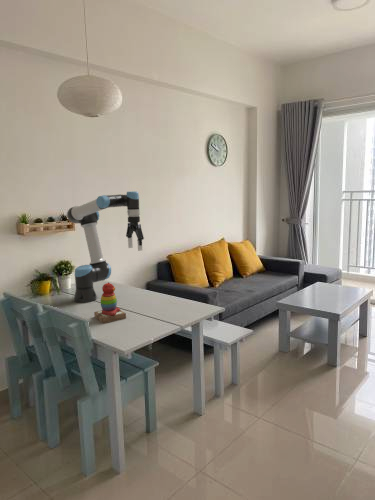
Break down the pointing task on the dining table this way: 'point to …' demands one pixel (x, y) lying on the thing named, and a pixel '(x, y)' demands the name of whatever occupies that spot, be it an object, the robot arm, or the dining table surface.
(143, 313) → the dining table surface
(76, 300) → the robot arm
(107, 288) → the stacking bear
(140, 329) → the dining table surface
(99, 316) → the picture frame
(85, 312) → the dining table surface
